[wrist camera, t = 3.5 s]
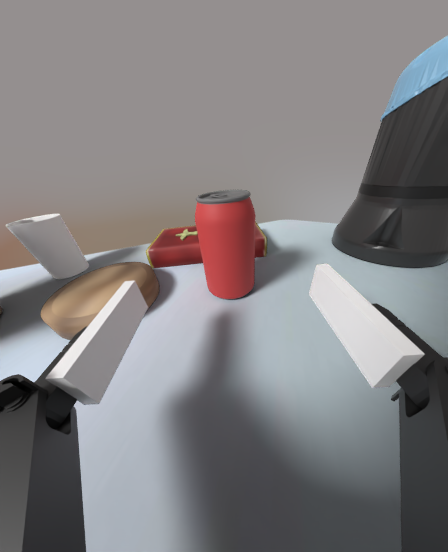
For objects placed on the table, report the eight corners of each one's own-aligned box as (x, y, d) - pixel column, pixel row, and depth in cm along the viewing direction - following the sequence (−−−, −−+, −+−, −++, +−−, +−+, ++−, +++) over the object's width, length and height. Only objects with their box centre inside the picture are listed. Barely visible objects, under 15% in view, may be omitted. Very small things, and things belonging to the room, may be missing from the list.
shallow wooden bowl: (169, 271, 29) (165, 258, 27) (137, 336, 18) (127, 320, 16) (97, 277, 29) (89, 265, 28) (25, 344, 18) (6, 329, 17)
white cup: (91, 271, 31) (57, 217, 26) (47, 285, 29) (-3, 229, 23) (91, 259, 36) (62, 211, 30) (53, 270, 33) (13, 220, 28)
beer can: (230, 268, 27) (224, 188, 21) (263, 284, 23) (269, 189, 16) (199, 287, 24) (178, 198, 17) (231, 310, 20) (220, 203, 13)
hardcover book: (266, 259, 30) (267, 237, 28) (152, 271, 30) (144, 250, 28) (253, 235, 40) (253, 217, 37) (168, 244, 40) (162, 227, 38)
